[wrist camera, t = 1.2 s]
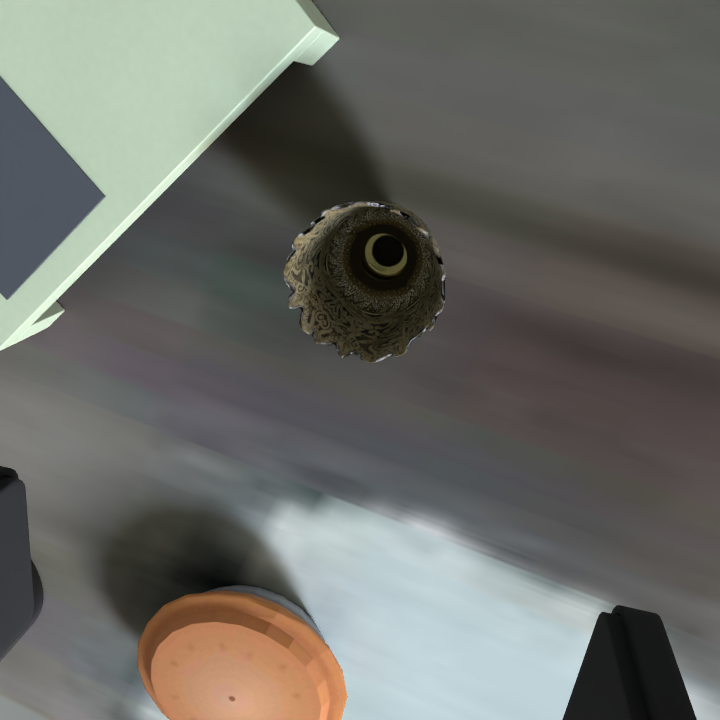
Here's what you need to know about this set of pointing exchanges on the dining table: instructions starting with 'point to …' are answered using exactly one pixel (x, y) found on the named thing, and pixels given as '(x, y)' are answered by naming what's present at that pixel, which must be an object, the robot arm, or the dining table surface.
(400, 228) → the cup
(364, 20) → the dining table surface
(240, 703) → the pie
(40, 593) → the jar
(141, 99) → the shelf
